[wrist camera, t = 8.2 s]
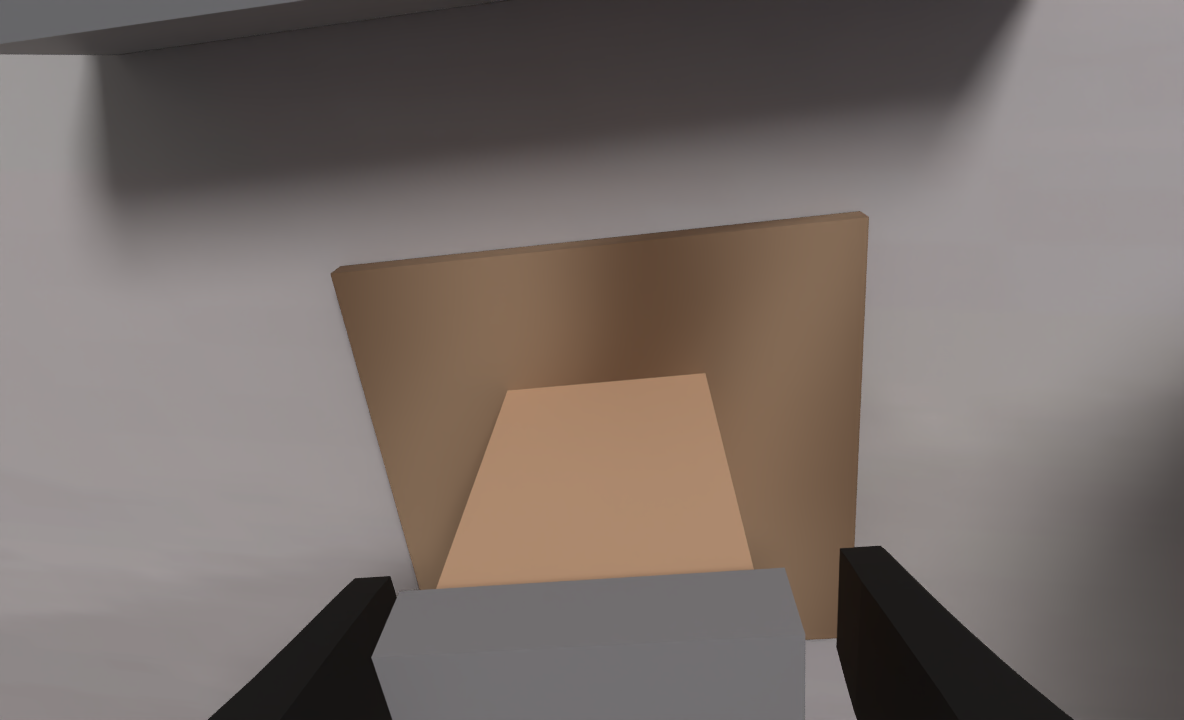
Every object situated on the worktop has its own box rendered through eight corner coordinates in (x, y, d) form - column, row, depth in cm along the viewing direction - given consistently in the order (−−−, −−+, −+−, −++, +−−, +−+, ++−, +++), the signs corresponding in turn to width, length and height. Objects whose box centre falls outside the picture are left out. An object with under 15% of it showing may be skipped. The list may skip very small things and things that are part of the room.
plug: (720, 357, 13) (805, 634, 7) (729, 546, 15) (803, 901, 9) (490, 378, 14) (370, 657, 7) (526, 559, 16) (456, 907, 9)
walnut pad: (859, 210, 13) (868, 217, 12) (844, 621, 17) (850, 637, 16) (340, 266, 13) (330, 273, 13) (444, 642, 17) (438, 657, 17)
